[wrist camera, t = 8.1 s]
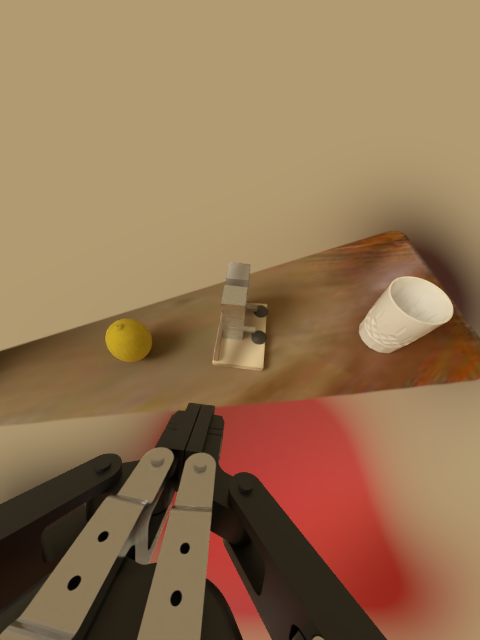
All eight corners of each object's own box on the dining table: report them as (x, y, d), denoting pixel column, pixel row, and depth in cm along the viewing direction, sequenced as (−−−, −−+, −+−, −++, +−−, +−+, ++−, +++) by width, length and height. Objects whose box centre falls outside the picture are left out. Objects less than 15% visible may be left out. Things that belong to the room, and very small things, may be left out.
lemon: (154, 332, 37) (137, 303, 30) (161, 362, 34) (144, 337, 28) (118, 343, 36) (92, 315, 29) (123, 375, 33) (95, 352, 26)
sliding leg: (223, 337, 36) (220, 303, 28) (226, 321, 37) (224, 284, 30) (253, 341, 35) (260, 307, 28) (255, 324, 37) (261, 288, 29)
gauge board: (212, 365, 34) (206, 331, 26) (224, 303, 41) (222, 260, 32) (263, 371, 34) (274, 339, 26) (267, 308, 40) (277, 266, 32)
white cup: (374, 363, 35) (419, 332, 27) (345, 322, 39) (376, 283, 31) (414, 348, 37) (468, 314, 29) (382, 310, 41) (421, 270, 32)
